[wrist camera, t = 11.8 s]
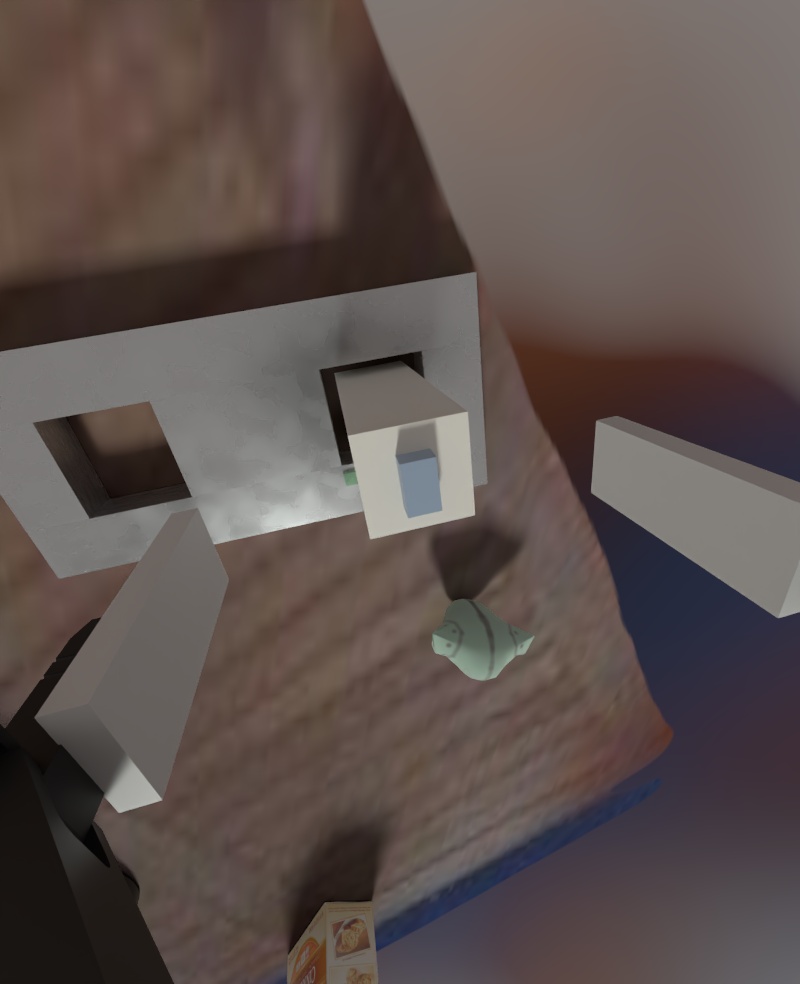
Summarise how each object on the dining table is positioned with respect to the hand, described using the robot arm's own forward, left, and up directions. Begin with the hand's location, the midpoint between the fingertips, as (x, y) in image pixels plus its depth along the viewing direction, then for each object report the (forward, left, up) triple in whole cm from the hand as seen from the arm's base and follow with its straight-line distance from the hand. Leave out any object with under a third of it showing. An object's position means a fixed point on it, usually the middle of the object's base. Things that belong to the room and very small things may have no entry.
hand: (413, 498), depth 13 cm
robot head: (+4, -18, -13) cm, 22 cm away
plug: (0, 0, -13) cm, 13 cm away
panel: (-7, 0, -13) cm, 14 cm away
